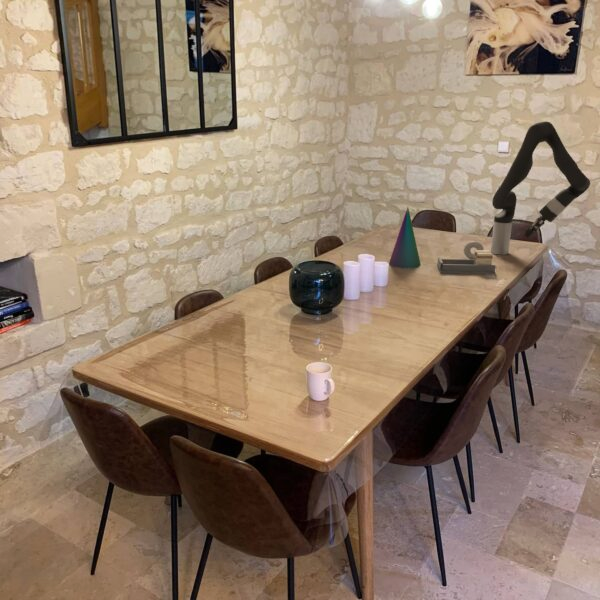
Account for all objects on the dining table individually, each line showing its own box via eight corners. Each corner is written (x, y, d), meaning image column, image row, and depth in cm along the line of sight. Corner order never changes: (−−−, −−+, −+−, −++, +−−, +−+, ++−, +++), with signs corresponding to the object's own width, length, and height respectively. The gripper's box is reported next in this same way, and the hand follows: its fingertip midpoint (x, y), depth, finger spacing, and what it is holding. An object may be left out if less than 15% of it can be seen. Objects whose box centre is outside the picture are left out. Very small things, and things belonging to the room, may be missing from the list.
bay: (436, 265, 298) (437, 255, 296) (489, 266, 296) (490, 256, 294) (440, 273, 285) (441, 263, 283) (495, 274, 283) (496, 264, 281)
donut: (482, 259, 308) (484, 240, 304) (482, 261, 305) (484, 242, 301) (462, 258, 310) (464, 239, 307) (462, 260, 307) (464, 241, 304)
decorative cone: (426, 263, 302) (430, 205, 292) (409, 270, 291) (413, 210, 280) (400, 257, 312) (403, 201, 302) (382, 264, 301) (385, 206, 291)
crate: (473, 265, 293) (474, 250, 290) (488, 265, 292) (489, 250, 289) (476, 269, 286) (477, 253, 283) (491, 270, 285) (492, 254, 283)
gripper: (546, 203, 281) (520, 228, 288) (546, 205, 268) (519, 231, 275) (558, 213, 280) (532, 238, 287) (558, 216, 267) (531, 242, 274)
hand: (526, 235), depth 281 cm, fingers open, 8 cm apart
